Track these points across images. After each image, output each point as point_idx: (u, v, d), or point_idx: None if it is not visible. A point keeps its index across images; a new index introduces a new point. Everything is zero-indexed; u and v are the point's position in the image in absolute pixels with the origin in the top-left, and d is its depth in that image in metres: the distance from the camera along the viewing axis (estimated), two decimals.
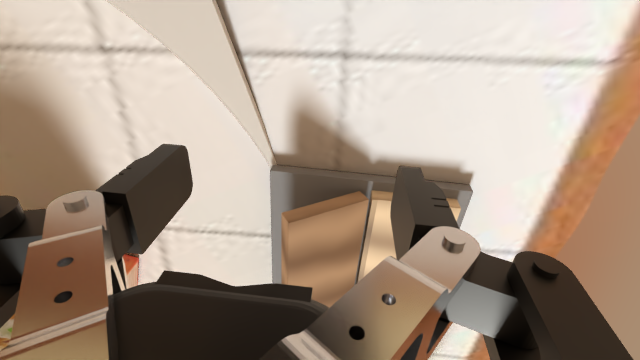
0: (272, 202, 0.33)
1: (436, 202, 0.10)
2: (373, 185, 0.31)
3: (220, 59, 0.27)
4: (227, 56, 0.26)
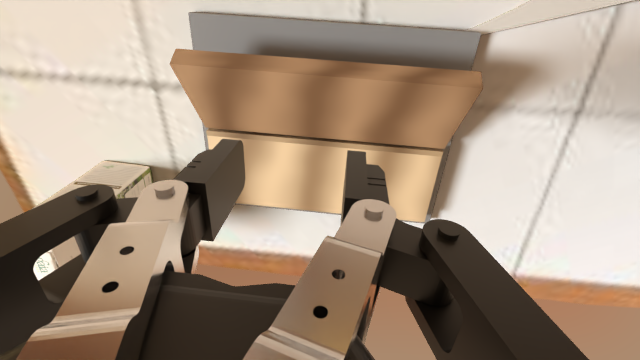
0: (433, 31, 0.27)
1: (375, 181, 0.11)
2: None
3: None
4: None
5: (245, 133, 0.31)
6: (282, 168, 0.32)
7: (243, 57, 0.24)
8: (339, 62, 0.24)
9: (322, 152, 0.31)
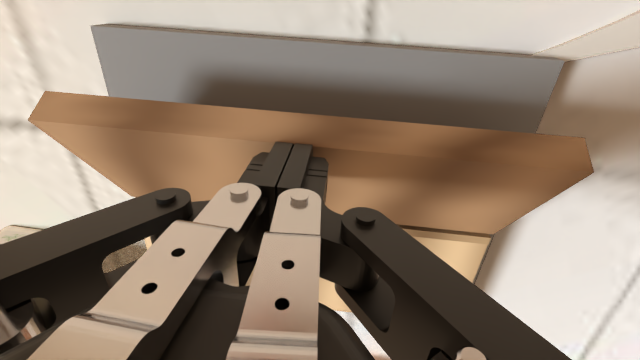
0: (484, 58, 0.16)
1: (316, 173, 0.11)
2: None
3: None
4: None
5: None
6: None
7: (160, 107, 0.14)
8: (327, 117, 0.13)
9: None
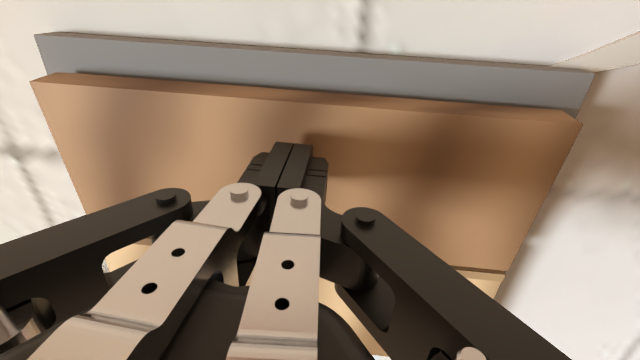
0: (499, 71, 0.14)
1: (316, 173, 0.11)
2: None
3: None
4: None
5: None
6: None
7: (165, 82, 0.14)
8: (324, 94, 0.14)
9: None
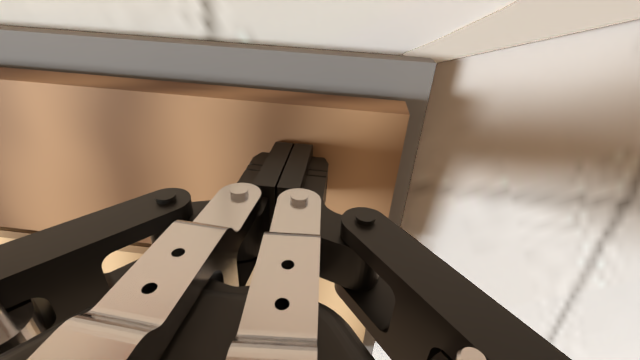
0: (339, 60, 0.13)
1: (316, 173, 0.11)
2: None
3: None
4: None
5: (30, 232, 0.18)
6: None
7: (1, 69, 0.14)
8: (164, 83, 0.14)
9: None
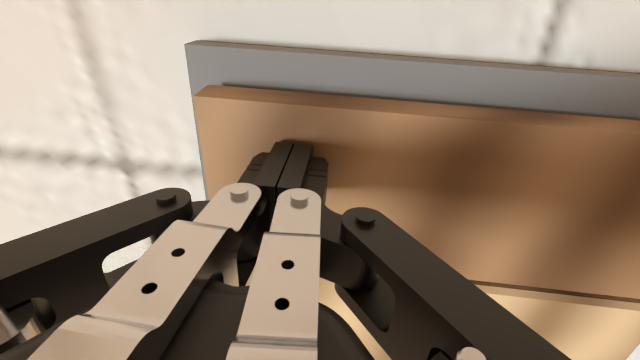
0: None
1: (316, 173, 0.11)
2: None
3: None
4: None
5: None
6: (352, 314, 0.18)
7: (332, 97, 0.13)
8: (506, 112, 0.13)
9: None
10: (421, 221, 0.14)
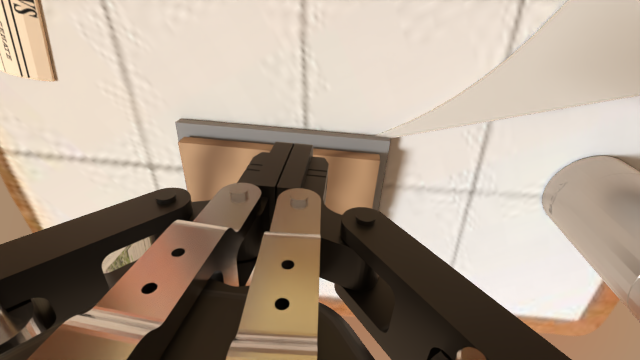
0: (355, 139, 0.36)
1: (316, 173, 0.11)
2: None
3: (484, 110, 0.33)
4: (486, 116, 0.34)
5: None
6: None
7: (227, 141, 0.37)
8: None
9: None
10: None
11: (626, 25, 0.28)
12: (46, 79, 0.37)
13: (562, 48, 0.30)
